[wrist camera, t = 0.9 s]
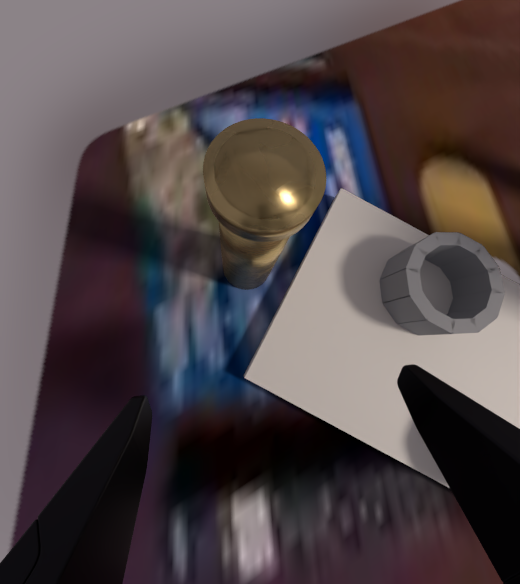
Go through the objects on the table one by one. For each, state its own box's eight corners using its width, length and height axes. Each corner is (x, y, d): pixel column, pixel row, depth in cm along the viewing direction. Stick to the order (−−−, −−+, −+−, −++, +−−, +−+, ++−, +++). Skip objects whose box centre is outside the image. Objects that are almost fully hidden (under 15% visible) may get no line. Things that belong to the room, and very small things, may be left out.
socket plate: (487, 507, 21) (563, 554, 17) (243, 375, 21) (247, 384, 17) (541, 308, 25) (615, 300, 21) (334, 197, 25) (359, 161, 20)
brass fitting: (258, 304, 23) (293, 252, 10) (207, 277, 23) (178, 190, 10) (283, 256, 24) (345, 155, 11) (235, 230, 24) (241, 98, 11)
